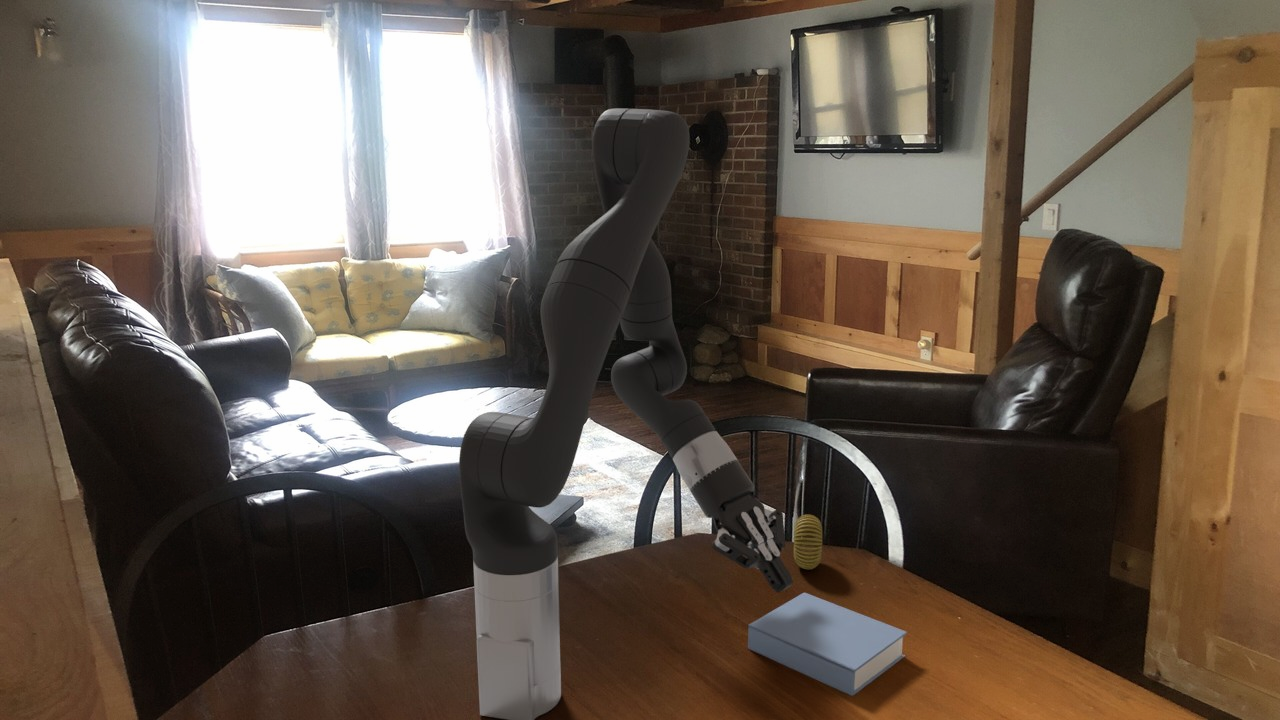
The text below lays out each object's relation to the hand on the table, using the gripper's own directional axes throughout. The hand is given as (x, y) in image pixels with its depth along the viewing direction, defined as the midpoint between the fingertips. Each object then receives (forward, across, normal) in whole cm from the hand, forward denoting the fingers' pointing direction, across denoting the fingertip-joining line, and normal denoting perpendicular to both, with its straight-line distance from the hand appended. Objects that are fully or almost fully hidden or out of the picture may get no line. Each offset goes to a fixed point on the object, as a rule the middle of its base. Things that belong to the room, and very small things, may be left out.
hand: (785, 588), depth 121 cm
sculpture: (-2, +18, +11) cm, 22 cm away
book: (+3, 0, +4) cm, 5 cm away
